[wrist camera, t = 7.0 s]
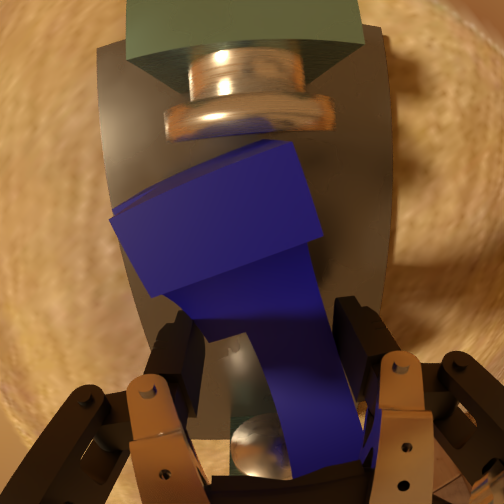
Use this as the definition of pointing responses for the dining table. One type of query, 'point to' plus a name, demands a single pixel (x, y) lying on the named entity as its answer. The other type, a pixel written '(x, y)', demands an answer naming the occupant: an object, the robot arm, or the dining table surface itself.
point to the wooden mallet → (449, 479)
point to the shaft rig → (246, 132)
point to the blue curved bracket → (251, 283)
